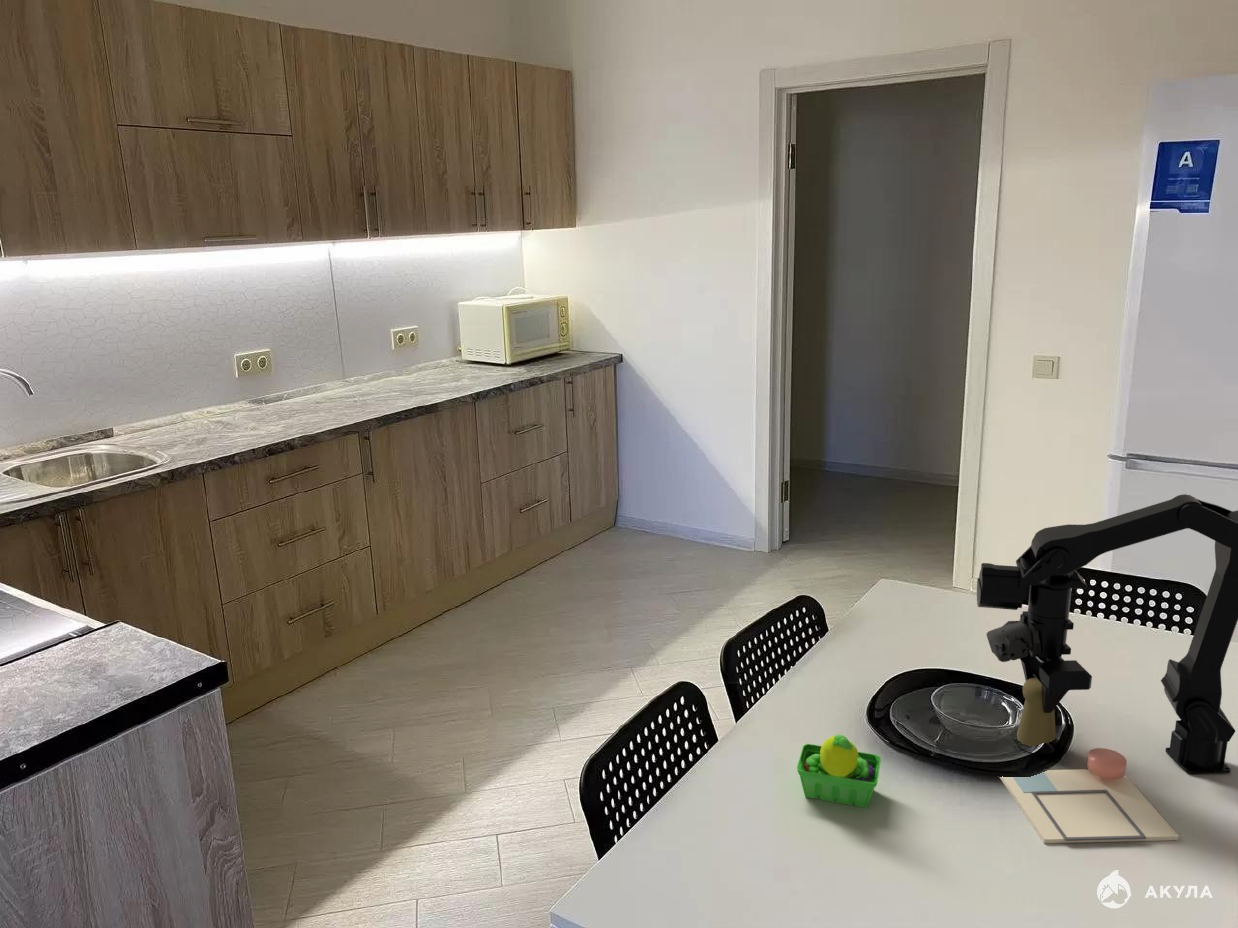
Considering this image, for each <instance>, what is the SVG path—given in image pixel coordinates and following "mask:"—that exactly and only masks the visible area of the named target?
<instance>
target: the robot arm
mask: <svg viewBox="0 0 1238 928" xmlns="http://www.w3.org/2000/svg"><path fill="white" fill-rule="evenodd" d="M1186 529H1189V530H1192V531H1195V532H1196V533H1199V534H1201V535H1203V536H1205V537H1207V538H1209V539H1210V540H1212V541H1214V554H1215V555H1214V556H1215V557H1214V558H1215V571H1214V574H1213V577H1212V579H1211V582H1210V585H1209V587H1208V588H1209V589H1208V591H1207V594H1206V598H1205V600H1204V602H1203V603H1204V604H1203V605H1202V606H1203V607H1202V609H1201V613H1200V615H1199V619H1198V621H1197V624H1196V627H1195V630H1194V633H1193V636H1192V639H1191V642H1190V645H1189V649H1188V651H1187V653H1186V654H1185V656H1183V658H1181V659H1180V661H1175V660H1173V659H1171V658H1170V659H1168V661H1167V666H1166V672H1165V675H1164V676H1163V677H1162V678H1161V680H1160V682H1161V684H1162V686H1163V689H1164V694H1165V696H1166V698H1167V700H1168V701H1169V703H1170V705H1171V707H1172V708H1173V710H1174V712H1175V713H1176V716H1178V718H1179V719H1180V720H1178V719H1177V720H1175V726H1174V730H1172V731H1171V735H1170V744H1169V747H1166V748H1165V753H1166V754H1167V755H1168V756H1169V757H1170V758H1171V759H1172V760H1173V761H1174V762H1176V763H1177V764H1178V766H1180V767H1181V768H1182V769H1183V771H1185V772H1186V773H1187V774H1189V775H1200V774H1202V775H1203V774H1230V773H1231V771H1232V769H1231V768H1230V766H1229V765H1227V764H1226V763H1225V762H1226V754H1227V750H1228V749H1227V747H1228V743H1229V742H1230V741H1231V739H1232V737H1233V736H1234V735H1235V733H1236V730H1235V728H1234V727H1233V725H1232V722H1230V720H1229V719H1228V717H1227V716H1226V714H1225V712H1224V711H1223V710H1222V708H1221V704H1222V697H1223V690H1222V689H1223V688H1222V672H1221V670H1222V667H1223V664H1224V661H1225V659H1226V656H1227V653H1228V649H1229V647H1230V644H1231V641H1232V639H1233V635H1234V633H1235V630H1236V626H1237V623H1238V509H1237V510H1233V511H1232V510H1230V509H1228V508H1225V507H1223V506H1220V505H1218V504H1214V503H1212V502H1207V501H1203V500H1201V499H1198V498H1196V497H1195V496H1193V495H1191V494H1179V495H1176V496H1175V497H1173V498H1171V499H1168V500H1165V501H1162V502H1158V503H1156V504H1155V503H1154V504H1152V505H1148V506H1146V507H1145V506H1144V507H1142V508H1139V509H1135V510H1132V511H1129V512H1125V513H1122V514H1118V515H1116V516H1113V517H1110V518H1106V519H1104V520H1099V521H1097V522H1093V523H1086V524H1061V525H1056V526H1048V527H1045V528H1042V529H1040V530H1038V531H1037V532H1035V534H1034V537H1033V538H1032V540H1031V544H1030V546H1029V547H1028V548H1027V549H1026V550H1025V551H1024V552H1023V553H1022V554H1021V555H1020V556H1019V557H1018V558H1016V560H1015V564H1016V565H1003V564H1002V565H1000V564H994V563H991V562H990V563H989V562H986V563H985V562H982V563H981V566H980V570H979V573H978V574H979V575H978V578H976V579H977V581H976V605H977V607H978V608H984V609H985V608H986V609H999V610H1012V611H1017V610H1018V609H1022V607H1023V605H1026V602H1027V594H1028V603H1027V604H1028V606H1027V611H1026V610H1025V611H1024V610H1023V611H1022V613H1021V614H1020V616H1019V617H1020V618H1019V620H1008V621H1007V622H1005V624H1003V625H1002V626H999V627H996V628H994V629H991V630H989V631H987V632H986V639H987V641H988V645H989V647H990V650H991V652H992V653H993V654H994V656H995V657H996V658H997V660H998V661H999V662H1001V663H1006V662H1010V661H1016V660H1020V663H1021V667H1022V669H1023V671H1022V672H1023V675H1024V680H1025V682H1026V681H1027V680H1028V679H1030V678H1037V680H1038V681H1039V682H1040V683H1041V684H1042V704H1043V711H1044V713H1051V712H1052V711H1053V710H1054V711H1055V708H1057V706H1058V705H1059V703H1060V702H1061V701H1062V700H1063V698H1064V697H1065V696H1066V694H1068V692H1069V691H1087V690H1088V691H1089V690H1090V689H1091V688H1092V680H1093V676H1092V674H1091V673H1089V672H1088V670H1087V669H1085V668H1084V667H1083V666H1082V665H1081V664H1080V663H1079V662H1078V660H1076V659H1075V660H1072V659H1071V660H1065V659H1064V658H1063V657H1062V656H1064V655H1066V656H1067V655H1071V654H1072V647H1070V646H1069V645H1068V644H1067V637H1068V630H1074V626H1075V623H1074V622H1073V621H1072V620H1071V619H1070V618H1069V615H1070V607H1071V600H1072V599H1071V598H1072V589H1077V590H1078V589H1079V590H1086V589H1087V588H1088V585H1087V583H1086V581H1085V580H1084V577H1083V576H1081V575H1080V573H1078V572H1077V570H1079V569H1081V568H1083V567H1085V566H1087V565H1088V564H1089V563H1091V562H1092V561H1093V560H1095V559H1096V558H1097V557H1099V556H1101V555H1103V554H1105V553H1106V554H1107V553H1108V552H1113V551H1115V550H1118V549H1121V548H1125V547H1129V546H1133V545H1136V544H1139V543H1142V542H1145V541H1146V542H1147V541H1149V540H1153V539H1157V538H1159V537H1162V536H1166V535H1170V534H1173V533H1177V532H1179V531H1184V530H1186ZM1028 586H1029V592H1028Z"/></svg>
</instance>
